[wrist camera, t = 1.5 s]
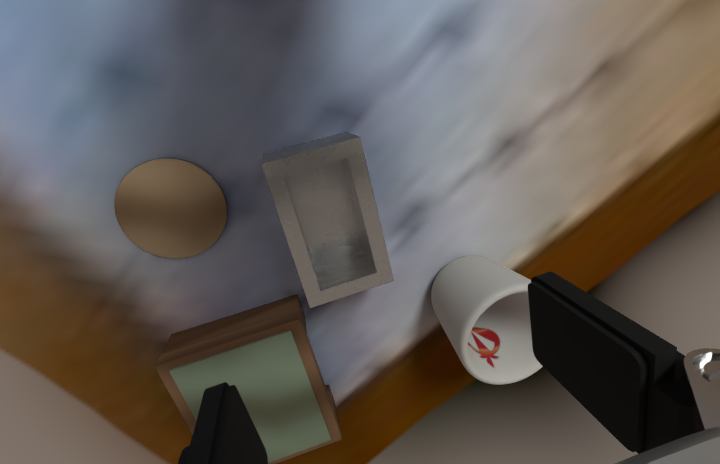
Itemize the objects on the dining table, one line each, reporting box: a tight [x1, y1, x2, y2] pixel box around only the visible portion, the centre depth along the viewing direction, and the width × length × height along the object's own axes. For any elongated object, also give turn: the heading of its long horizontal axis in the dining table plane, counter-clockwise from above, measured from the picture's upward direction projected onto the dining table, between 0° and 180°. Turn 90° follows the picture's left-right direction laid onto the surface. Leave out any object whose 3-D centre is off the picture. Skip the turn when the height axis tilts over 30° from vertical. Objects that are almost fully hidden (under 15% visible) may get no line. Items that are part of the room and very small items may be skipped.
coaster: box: [115, 158, 227, 258], centre depth 25 cm, size 7×7×1 cm
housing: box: [261, 132, 394, 308], centre depth 26 cm, size 10×6×5 cm, turn 14°
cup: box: [431, 256, 543, 385], centre depth 29 cm, size 11×8×8 cm
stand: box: [154, 295, 342, 464], centre depth 29 cm, size 12×10×4 cm
